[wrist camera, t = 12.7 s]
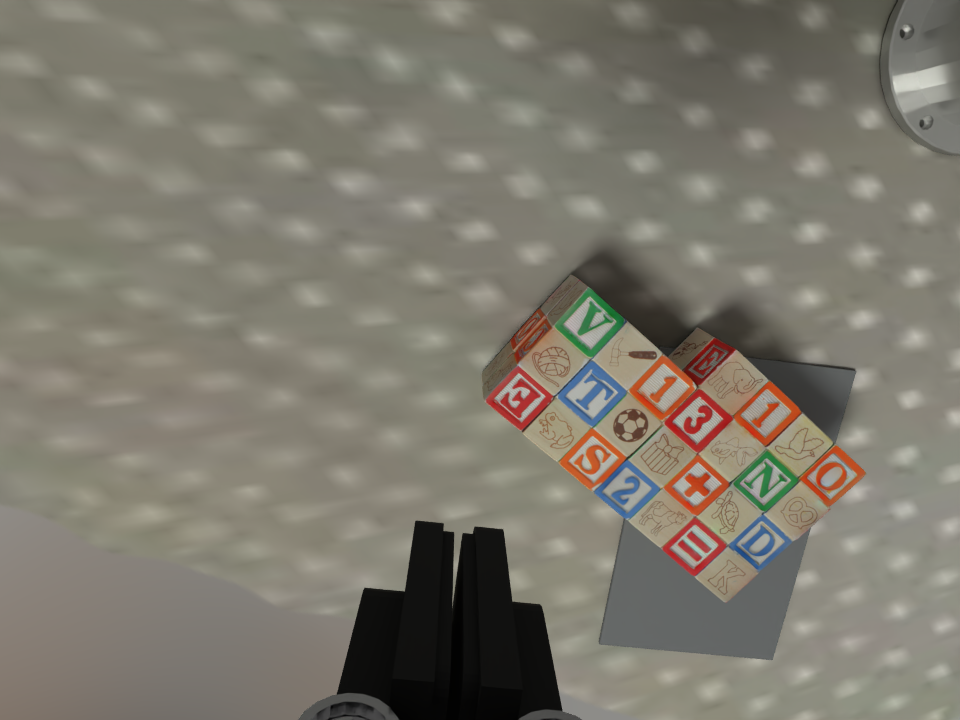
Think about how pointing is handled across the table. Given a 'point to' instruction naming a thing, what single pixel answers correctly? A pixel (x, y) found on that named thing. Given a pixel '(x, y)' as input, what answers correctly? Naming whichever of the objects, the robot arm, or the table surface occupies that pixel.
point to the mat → (687, 602)
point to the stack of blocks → (669, 435)
